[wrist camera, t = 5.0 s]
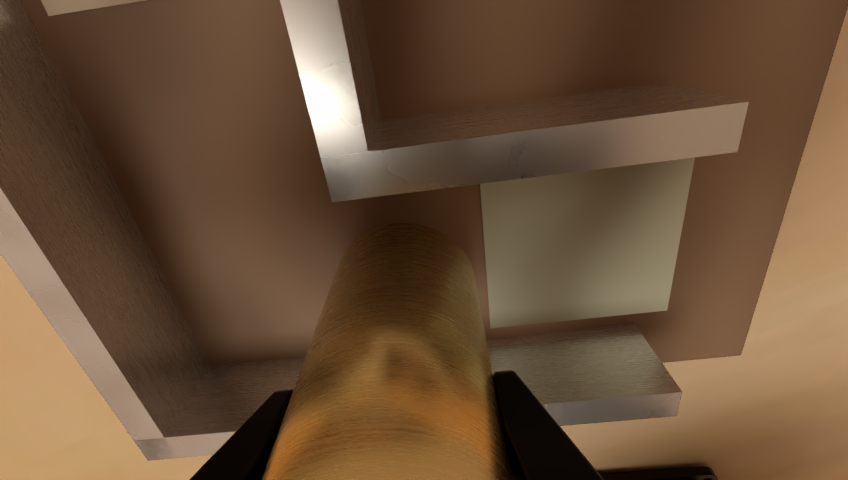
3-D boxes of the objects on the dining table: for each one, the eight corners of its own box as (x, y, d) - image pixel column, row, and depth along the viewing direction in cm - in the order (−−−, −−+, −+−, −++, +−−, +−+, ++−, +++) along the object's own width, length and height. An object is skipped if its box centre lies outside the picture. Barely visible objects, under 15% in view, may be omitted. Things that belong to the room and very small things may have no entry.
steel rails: (759, -585, 6) (1013, -1049, 3) (631, 345, 15) (676, 416, 12) (-217, -355, 7) (-590, -574, 5) (194, 387, 16) (147, 460, 13)
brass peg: (469, 215, 11) (663, 1068, 2) (478, 331, 13) (599, 1040, 4) (321, 231, 11) (-90, 1059, 2) (351, 343, 13) (194, 1034, 4)
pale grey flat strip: (968, -605, 7) (1078, -731, 6) (720, 333, 16) (742, 356, 15) (-223, -330, 8) (-326, -386, 7) (184, 384, 17) (167, 409, 16)
